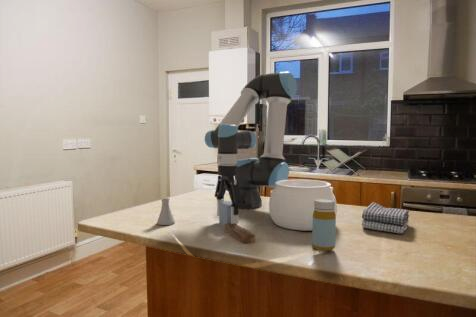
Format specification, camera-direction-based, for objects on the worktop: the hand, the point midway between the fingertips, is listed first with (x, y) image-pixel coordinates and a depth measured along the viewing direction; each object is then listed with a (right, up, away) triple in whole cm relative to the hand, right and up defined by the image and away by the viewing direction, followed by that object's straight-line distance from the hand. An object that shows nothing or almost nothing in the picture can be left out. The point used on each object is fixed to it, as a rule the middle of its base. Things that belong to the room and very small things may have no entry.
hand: (227, 219), depth 130 cm
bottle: (+31, -5, -25) cm, 40 cm away
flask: (-25, -3, +4) cm, 25 cm away
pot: (+30, -3, +4) cm, 30 cm away
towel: (+62, -3, 0) cm, 62 cm away
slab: (0, -3, 0) cm, 3 cm away
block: (+4, -4, -13) cm, 14 cm away
